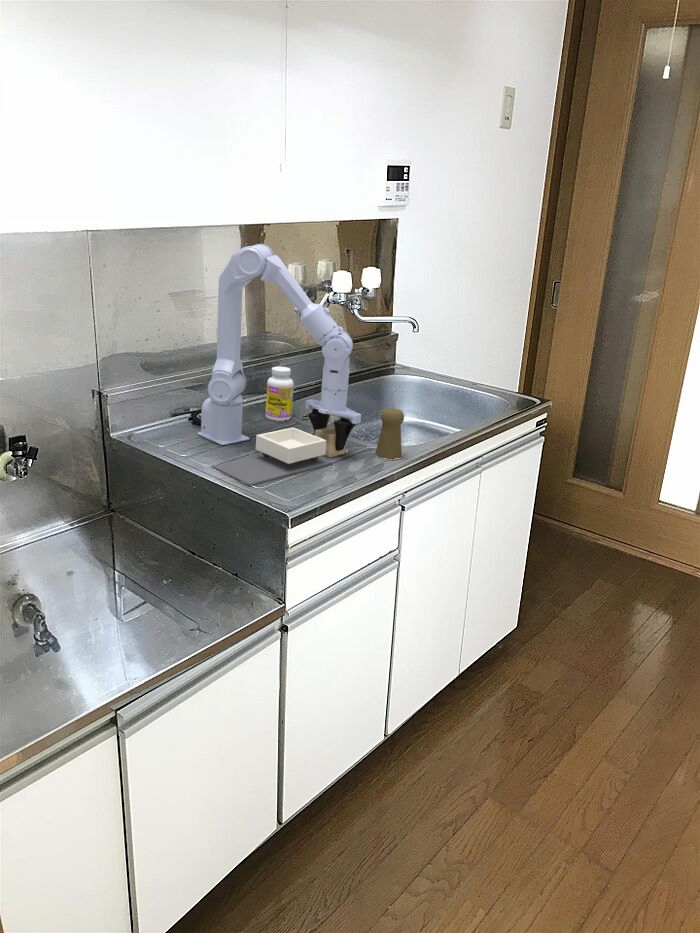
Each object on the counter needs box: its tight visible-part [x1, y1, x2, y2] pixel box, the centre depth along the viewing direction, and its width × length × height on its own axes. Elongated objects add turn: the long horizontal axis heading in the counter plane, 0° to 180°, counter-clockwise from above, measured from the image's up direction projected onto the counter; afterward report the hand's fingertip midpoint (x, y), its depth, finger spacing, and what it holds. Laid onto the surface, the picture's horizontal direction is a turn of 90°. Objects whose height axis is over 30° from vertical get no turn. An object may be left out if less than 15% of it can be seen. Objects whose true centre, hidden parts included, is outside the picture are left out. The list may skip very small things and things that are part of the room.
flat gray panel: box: [212, 454, 333, 487], centre depth 165 cm, size 12×23×1 cm, turn 136°
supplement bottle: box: [265, 366, 294, 422], centre depth 196 cm, size 7×7×13 cm
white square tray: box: [255, 426, 327, 468], centre depth 167 cm, size 11×11×5 cm
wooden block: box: [314, 426, 347, 458], centre depth 175 cm, size 5×5×5 cm
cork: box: [375, 407, 405, 459], centre depth 176 cm, size 6×6×11 cm
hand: (329, 446), depth 176 cm, fingers closed on wooden block, 5 cm apart
